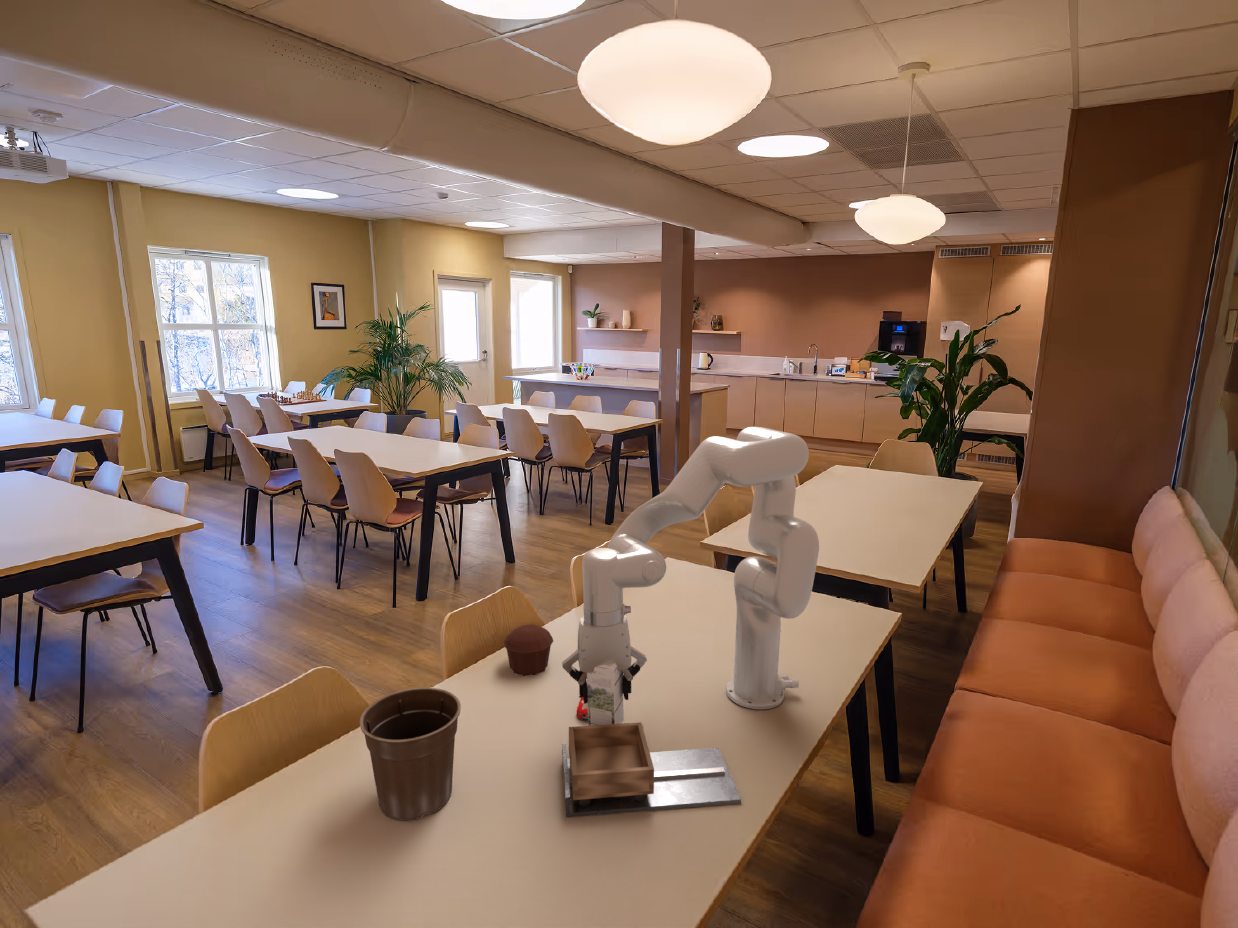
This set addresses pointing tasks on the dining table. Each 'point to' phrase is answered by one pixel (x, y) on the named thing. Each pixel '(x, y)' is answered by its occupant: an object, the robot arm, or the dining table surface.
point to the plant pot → (412, 750)
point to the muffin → (528, 649)
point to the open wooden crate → (610, 762)
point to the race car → (582, 710)
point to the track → (666, 785)
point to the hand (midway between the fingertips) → (605, 697)
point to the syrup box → (605, 695)
